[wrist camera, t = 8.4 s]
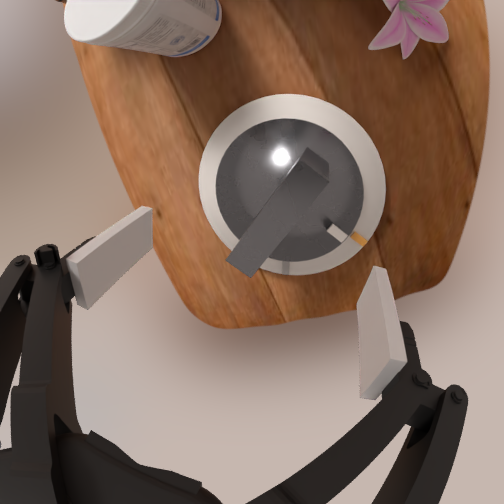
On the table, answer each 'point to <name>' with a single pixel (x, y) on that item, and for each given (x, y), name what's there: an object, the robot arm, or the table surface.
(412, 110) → the table surface
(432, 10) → the lily
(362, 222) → the dial base
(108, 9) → the supplement tub
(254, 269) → the dial
